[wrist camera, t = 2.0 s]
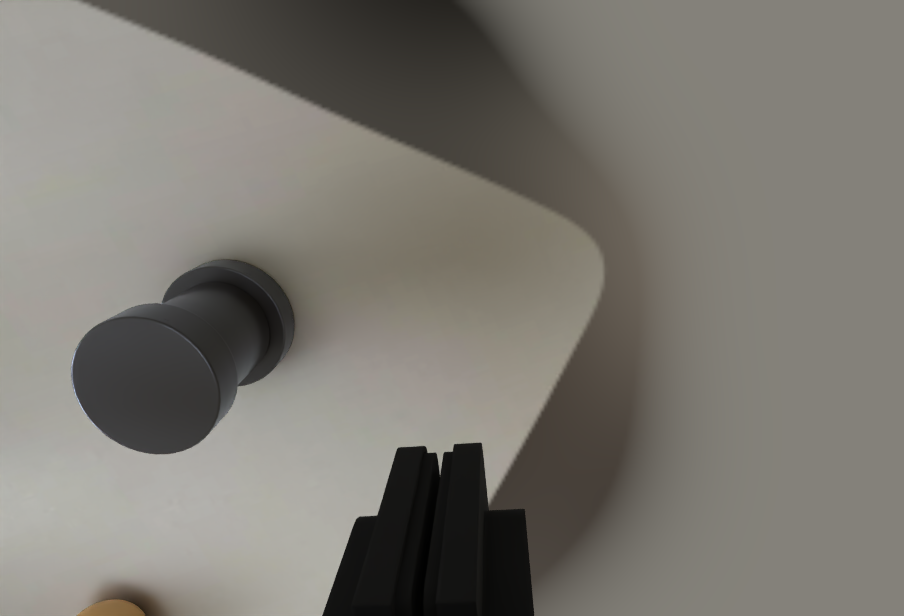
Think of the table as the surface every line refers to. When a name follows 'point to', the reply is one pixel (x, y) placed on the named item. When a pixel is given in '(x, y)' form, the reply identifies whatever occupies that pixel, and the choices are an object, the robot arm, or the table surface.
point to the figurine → (112, 609)
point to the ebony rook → (182, 357)
